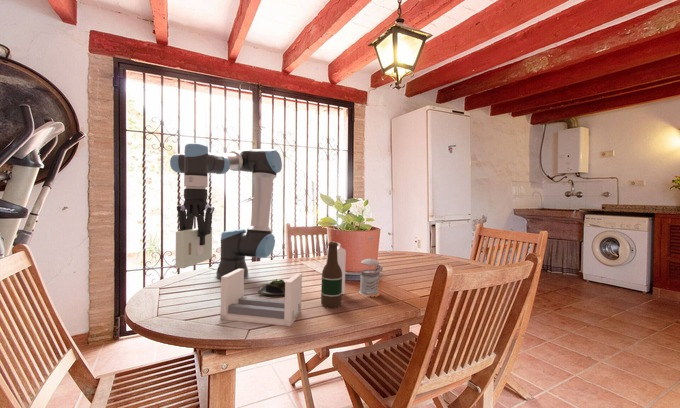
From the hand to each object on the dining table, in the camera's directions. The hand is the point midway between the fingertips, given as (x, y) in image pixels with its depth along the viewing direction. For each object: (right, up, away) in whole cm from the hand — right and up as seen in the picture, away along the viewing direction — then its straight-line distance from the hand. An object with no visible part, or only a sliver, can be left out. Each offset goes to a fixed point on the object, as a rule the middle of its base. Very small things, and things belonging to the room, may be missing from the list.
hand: (194, 253), depth 109 cm
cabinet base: (+25, -20, -4) cm, 33 cm away
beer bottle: (+48, -21, +9) cm, 53 cm away
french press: (+65, -21, +24) cm, 72 cm away
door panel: (0, -3, 0) cm, 3 cm away
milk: (+49, -21, +23) cm, 58 cm away
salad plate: (+25, -20, +23) cm, 40 cm away
